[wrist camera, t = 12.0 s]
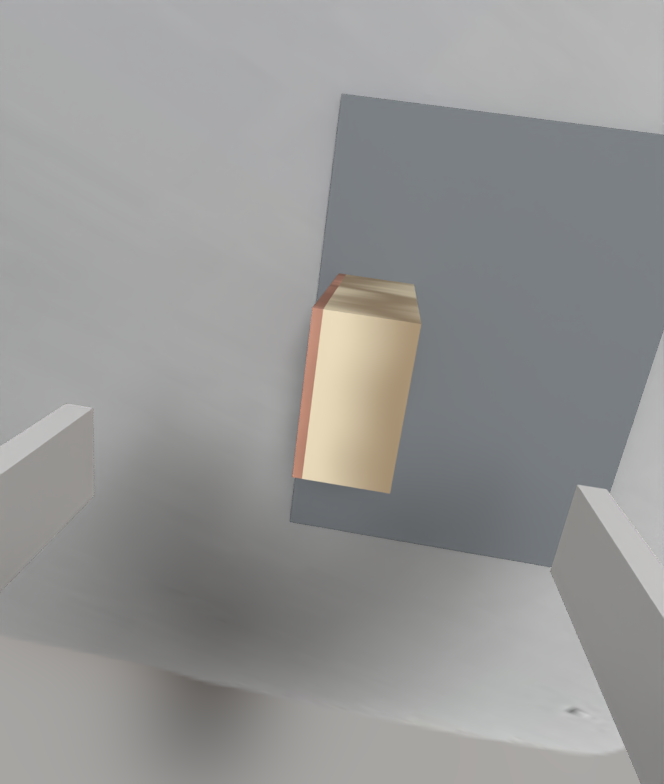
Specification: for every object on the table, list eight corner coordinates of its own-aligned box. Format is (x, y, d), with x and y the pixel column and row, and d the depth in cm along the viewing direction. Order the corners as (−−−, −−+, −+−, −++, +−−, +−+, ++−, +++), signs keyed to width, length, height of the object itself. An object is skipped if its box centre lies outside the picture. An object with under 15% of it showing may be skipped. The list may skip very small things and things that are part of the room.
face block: (322, 396, 33) (292, 477, 23) (338, 273, 30) (312, 307, 21) (392, 407, 32) (389, 493, 23) (413, 284, 30) (421, 324, 21)
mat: (291, 516, 36) (289, 521, 36) (342, 95, 28) (341, 93, 28) (580, 566, 35) (583, 572, 35) (718, 143, 27) (725, 142, 27)
